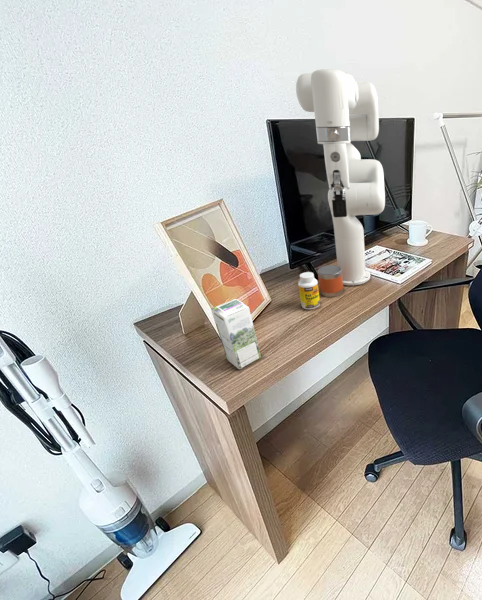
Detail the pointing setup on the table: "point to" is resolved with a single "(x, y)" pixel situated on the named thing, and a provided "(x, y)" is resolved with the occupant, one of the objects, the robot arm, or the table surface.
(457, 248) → the table surface
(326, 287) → the tin can
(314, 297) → the supplement bottle
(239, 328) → the syrup box
